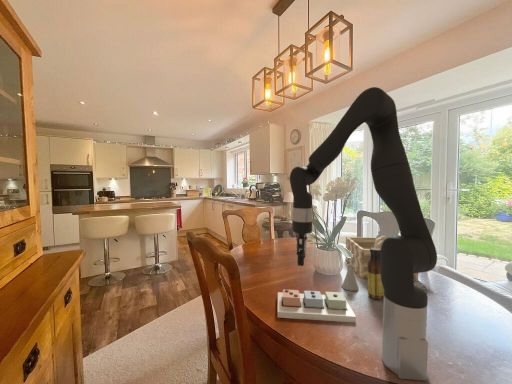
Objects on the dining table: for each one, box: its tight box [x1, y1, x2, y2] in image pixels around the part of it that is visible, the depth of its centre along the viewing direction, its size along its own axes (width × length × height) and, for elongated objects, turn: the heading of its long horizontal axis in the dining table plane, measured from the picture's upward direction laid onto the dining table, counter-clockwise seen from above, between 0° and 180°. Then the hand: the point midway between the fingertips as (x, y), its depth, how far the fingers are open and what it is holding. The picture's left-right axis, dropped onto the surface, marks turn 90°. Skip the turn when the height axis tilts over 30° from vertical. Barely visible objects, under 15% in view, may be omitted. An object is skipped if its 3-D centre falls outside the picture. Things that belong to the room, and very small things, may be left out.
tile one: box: [324, 291, 347, 310], centre depth 83 cm, size 6×6×3 cm
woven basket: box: [345, 236, 420, 281], centre depth 123 cm, size 26×26×14 cm
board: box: [277, 291, 357, 323], centre depth 84 cm, size 14×26×2 cm, turn 84°
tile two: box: [303, 290, 323, 309], centre depth 83 cm, size 6×6×3 cm
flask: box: [341, 264, 359, 292], centre depth 100 cm, size 7×7×10 cm
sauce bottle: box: [367, 248, 384, 301], centre depth 92 cm, size 6×6×20 cm
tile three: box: [282, 289, 300, 307], centre depth 84 cm, size 6×6×3 cm
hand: (301, 261), depth 87 cm, fingers open, 8 cm apart
